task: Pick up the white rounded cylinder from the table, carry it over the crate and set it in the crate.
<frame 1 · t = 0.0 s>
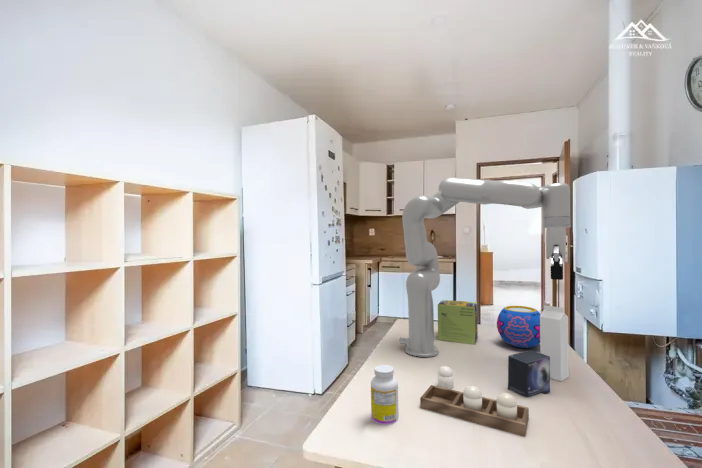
hand: (557, 277, 106), 31 cm above the table, fingers open, 9 cm apart
crate: (472, 415, 84), on the table
protein box: (458, 339, 145), on the table
small box: (529, 393, 96), on the table
milk: (554, 376, 107), on the table
white rounded cylinder: (445, 389, 99), on the table
egg middle: (472, 412, 84), point 1 cm above the table, touching crate
egg far: (506, 421, 80), point 1 cm above the table, touching crate
supplement bottle: (384, 421, 83), on the table
ceramic pot: (520, 346, 135), on the table
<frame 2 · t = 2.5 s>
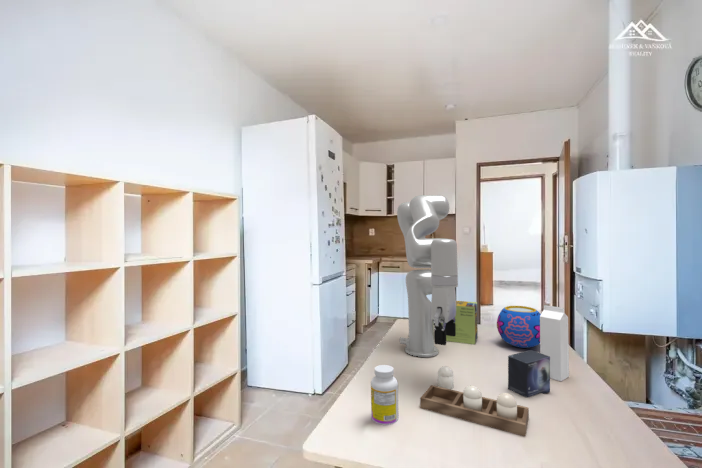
hand: (445, 339, 98), 15 cm above the table, fingers open, 9 cm apart
nothing on the table moved.
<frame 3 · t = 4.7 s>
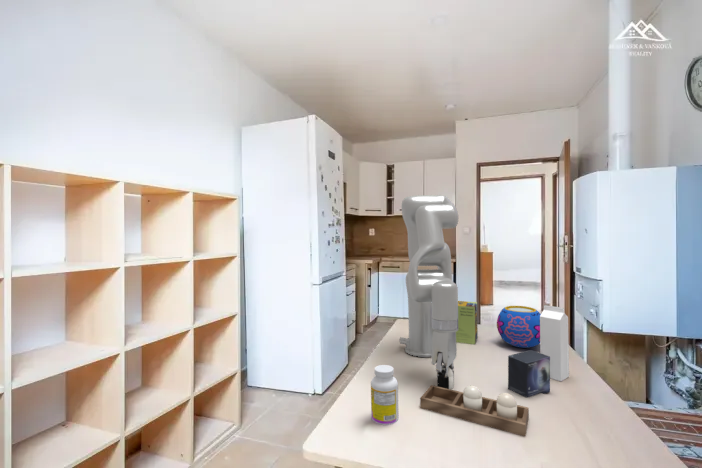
hand: (445, 385, 99), 1 cm above the table, fingers closed on white rounded cylinder, 4 cm apart
white rounded cylinder: (445, 389, 99), on the table, touching gripper
everything else where it was.
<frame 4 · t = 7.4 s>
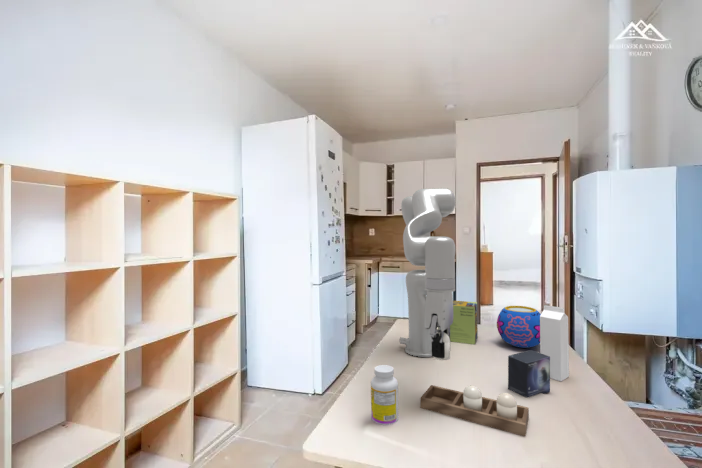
hand: (441, 353, 88), 14 cm above the table, fingers closed on white rounded cylinder, 4 cm apart
white rounded cylinder: (441, 357, 88), point 13 cm above the table, touching gripper
everything else where it was.
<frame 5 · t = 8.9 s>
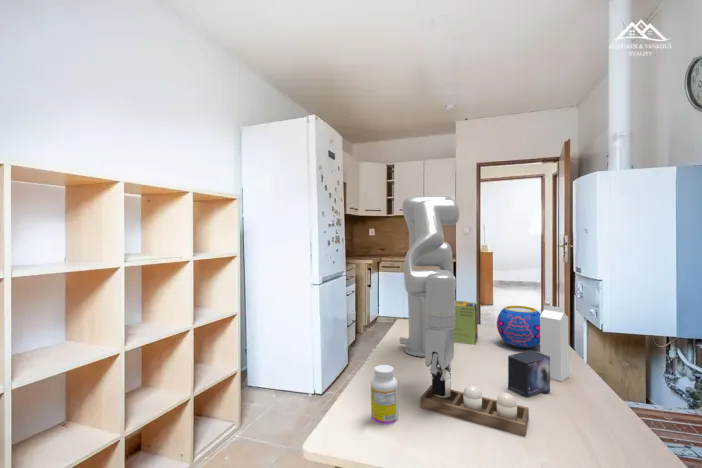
hand: (441, 390, 88), 5 cm above the table, fingers closed on white rounded cylinder, 4 cm apart
white rounded cylinder: (442, 393, 88), point 4 cm above the table, touching gripper
everything else where it was.
when the fingers open (4 cm above the table, at t = 9.9 s): white rounded cylinder drops 2 cm, resting on crate.
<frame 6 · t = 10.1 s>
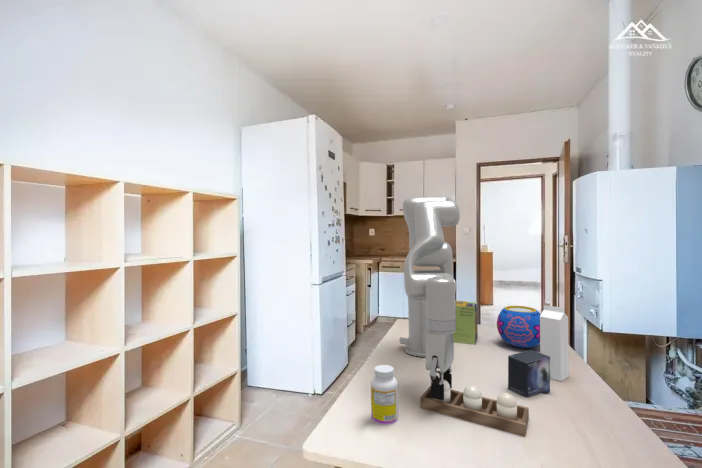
hand: (441, 392, 88), 4 cm above the table, fingers open, 6 cm apart
white rounded cylinder: (441, 404, 88), point 1 cm above the table, touching crate
everything else where it was.
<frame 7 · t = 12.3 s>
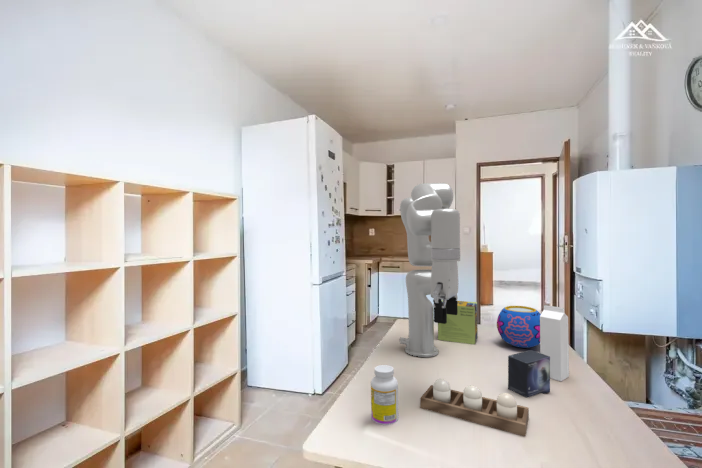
hand: (446, 318, 91), 23 cm above the table, fingers open, 9 cm apart
nothing on the table moved.
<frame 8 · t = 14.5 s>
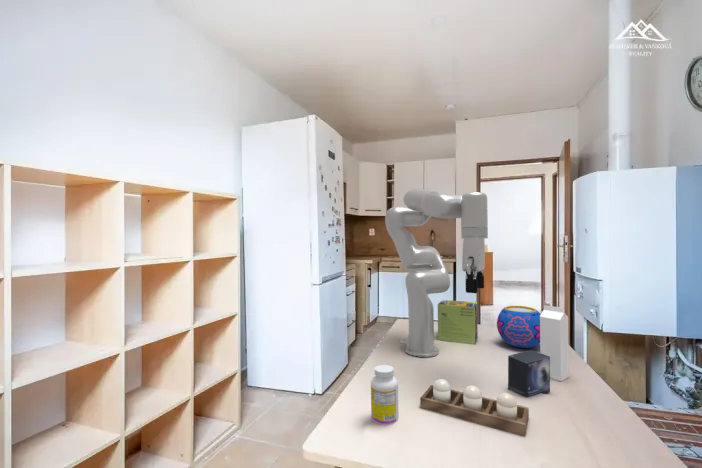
hand: (475, 290, 102), 28 cm above the table, fingers open, 9 cm apart
nothing on the table moved.
at the end: white rounded cylinder inside the target area on the crate (0.0 cm from its centre), point 0.8 cm above the crate's base; white rounded cylinder tilted 0°; the gripper is holding nothing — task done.
